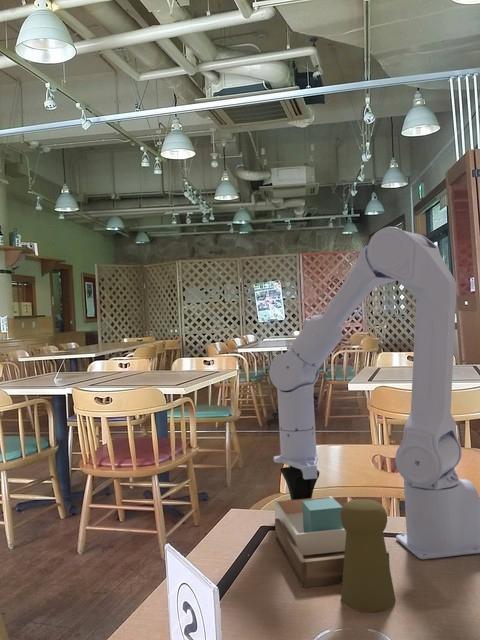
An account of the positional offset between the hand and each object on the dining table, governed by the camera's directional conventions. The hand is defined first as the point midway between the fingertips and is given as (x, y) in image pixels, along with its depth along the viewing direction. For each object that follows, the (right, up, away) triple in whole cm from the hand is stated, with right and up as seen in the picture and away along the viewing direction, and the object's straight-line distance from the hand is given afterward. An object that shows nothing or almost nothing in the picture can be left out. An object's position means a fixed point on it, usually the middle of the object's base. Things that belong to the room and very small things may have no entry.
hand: (301, 513), depth 91 cm
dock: (+2, -1, -14) cm, 14 cm away
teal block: (+2, +1, -12) cm, 13 cm away
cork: (+5, -1, -26) cm, 27 cm away
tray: (+1, 0, -9) cm, 9 cm away
